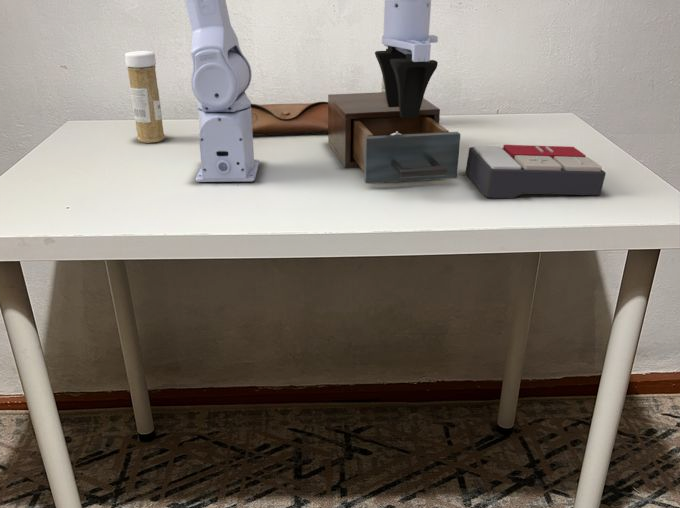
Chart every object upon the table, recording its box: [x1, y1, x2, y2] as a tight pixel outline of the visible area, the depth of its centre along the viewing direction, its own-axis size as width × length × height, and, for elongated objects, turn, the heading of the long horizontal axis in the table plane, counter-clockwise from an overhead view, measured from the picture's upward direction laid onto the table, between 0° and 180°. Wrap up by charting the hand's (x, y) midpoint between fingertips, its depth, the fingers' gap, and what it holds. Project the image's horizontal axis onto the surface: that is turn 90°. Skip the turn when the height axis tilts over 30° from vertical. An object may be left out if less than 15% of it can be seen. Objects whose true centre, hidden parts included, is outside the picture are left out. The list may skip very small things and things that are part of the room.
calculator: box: [465, 144, 607, 199], centre depth 93 cm, size 11×4×15 cm
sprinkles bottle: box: [124, 50, 166, 144], centre depth 112 cm, size 5×5×13 cm
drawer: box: [351, 115, 461, 185], centre depth 94 cm, size 18×12×6 cm
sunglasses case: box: [251, 101, 328, 136], centre depth 120 cm, size 18×7×7 cm
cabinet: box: [327, 91, 441, 169], centre depth 106 cm, size 14×14×8 cm
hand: (402, 111), depth 93 cm, fingers open, 6 cm apart
